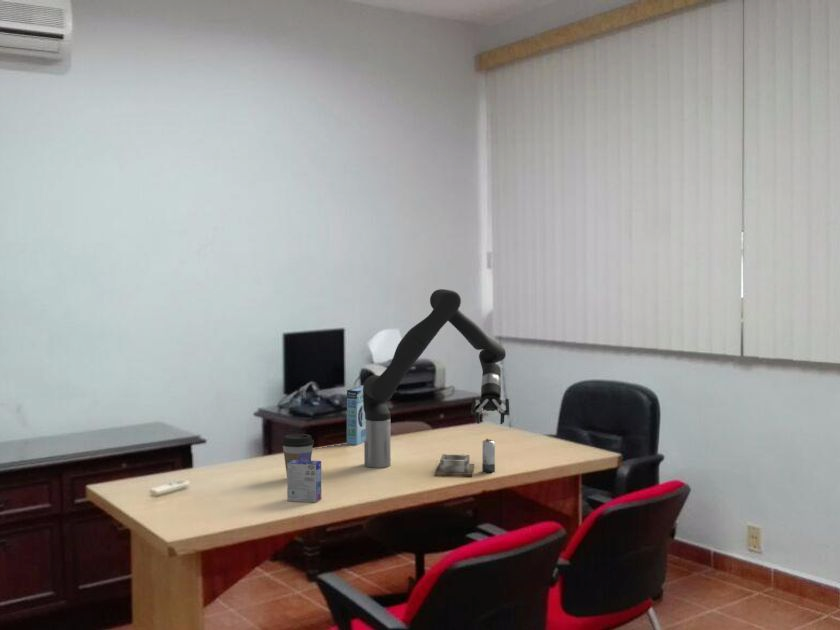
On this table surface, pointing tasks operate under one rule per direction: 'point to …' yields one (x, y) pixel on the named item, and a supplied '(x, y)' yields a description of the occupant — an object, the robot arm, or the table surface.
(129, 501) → the table surface
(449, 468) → the cell holder
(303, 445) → the coffee cup
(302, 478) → the ink cartridge box
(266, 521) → the table surface
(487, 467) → the battery cell
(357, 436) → the light blue carton
